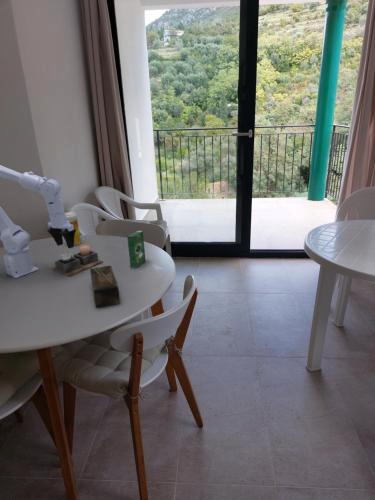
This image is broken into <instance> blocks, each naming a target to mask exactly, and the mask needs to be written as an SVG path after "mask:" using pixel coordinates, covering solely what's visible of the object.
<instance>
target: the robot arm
mask: <svg viewBox="0 0 375 500" xmlns="http://www.w3.org/2000/svg"><path fill="white" fill-rule="evenodd" d="M0 178H2V179H6V180H9V181H13V182H16V183H18V184H19V186H21V188H24V189H27V190H29V191H32V192H36V193H39V195H40V196H42V197H43V198H44V202H45V205H46V210H47V212H48V217H49V219H50V221H48V222H47V226H48V229H47V233H49V235H51V237H52V238H53V241H54V242H55V244H56V245H57V247H58V246H62V245H64V241H65V242H66V243H65V245H66V246H67V248H68V249H73V248H74V247H75V246H74V237H75V233H76V229H74V227H73V225H72V224H70V221H67V218H66V214H65V213H66V211H65V208H64V207H65V206H64V204H63V199H62V196H61V192H60V191H61V189H62V187H61V186H62V185H61V184H60V182H59V181H58V180H56V179H55V178H49V179H48V178H47V177H46V176H39V175H36V174H34V172H33V171H29V172H28V171H25V172H23V173H21V172H18V171H16V170H13V169H11V168H8V167H6V166H3V165H1V164H0ZM63 239H64V240H63ZM0 241H1V242H2V245H3V248H4V249H5V250H6V251H7V253H6V254H4V255H3V257H2V259H3V263H4V266H5V269H6V274H7V275H9V276H11V277H13V278H14V279H17V278H20V277H22V276H24V275H29V274H30V273H33V272H35V271H39V268H38V267H36V266H34V262H33V261H34V260H33V258H32V253H31V250H30V245H29V244H30V242H31V235H30V234H29V233H28V232H27V231H25V230H24V229H22V227H21V226H19V225H17V224H15V223H14V222H13V221H12V220H11V218H10V217H9V216H8V214H7V212H6V211H4V209H3V208H2V207H1V206H0Z"/></svg>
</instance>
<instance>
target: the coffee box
mask: <svg viewBox="0 0 375 500" xmlns="http://www.w3.org/2000/svg"><path fill="white" fill-rule="evenodd" d="M126 238H127V246H128V256H129V262H130V263H129V266H130V268H131V269H132V268H133V269H135V268H138V267H139V266H141V265H142V264H144V262H146V251H145V250H146V249H145V240H144V239H145V237H144V231H143V230H136V231H134V232H132V233H131V234H129V235H127V236H126Z"/></svg>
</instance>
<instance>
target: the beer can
mask: <svg viewBox="0 0 375 500" xmlns="http://www.w3.org/2000/svg"><path fill="white" fill-rule="evenodd" d="M65 214H66V218H67V221H70V224H72V225H73V227H74V229H76V233H75V237H74V247H75V246H78V245H80V244H81V243H82V239H81V234H80V229H79V228H80V227H79V222H78V215H77V213H76V212H74V211H70V212H69V211H68V212H65Z"/></svg>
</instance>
